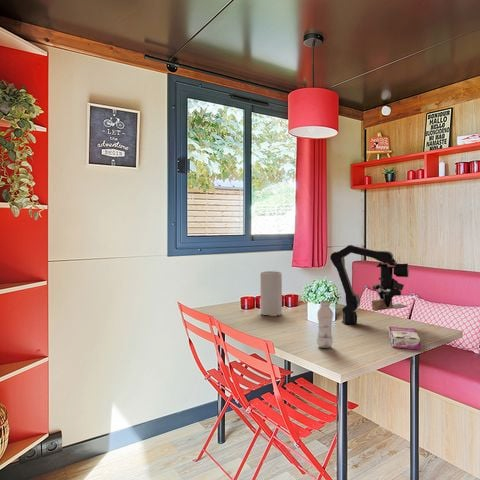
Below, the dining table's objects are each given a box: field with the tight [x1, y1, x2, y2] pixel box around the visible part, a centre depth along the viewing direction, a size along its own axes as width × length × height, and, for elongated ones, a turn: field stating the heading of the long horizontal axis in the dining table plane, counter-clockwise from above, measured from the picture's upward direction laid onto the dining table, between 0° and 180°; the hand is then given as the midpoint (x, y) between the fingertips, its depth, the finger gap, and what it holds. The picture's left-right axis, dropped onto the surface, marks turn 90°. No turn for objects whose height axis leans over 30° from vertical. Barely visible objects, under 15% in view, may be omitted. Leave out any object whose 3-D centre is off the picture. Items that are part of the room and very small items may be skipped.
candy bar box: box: [388, 326, 421, 350], centre depth 166 cm, size 11×5×16 cm
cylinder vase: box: [260, 270, 283, 317], centre depth 222 cm, size 12×12×25 cm
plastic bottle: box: [316, 300, 334, 349], centre depth 161 cm, size 6×7×20 cm
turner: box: [371, 298, 408, 312], centre depth 191 cm, size 17×6×5 cm, turn 102°
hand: (386, 306), depth 191 cm, fingers closed on turner, 3 cm apart
